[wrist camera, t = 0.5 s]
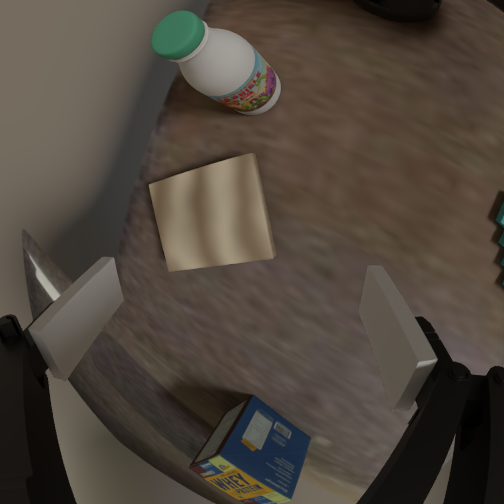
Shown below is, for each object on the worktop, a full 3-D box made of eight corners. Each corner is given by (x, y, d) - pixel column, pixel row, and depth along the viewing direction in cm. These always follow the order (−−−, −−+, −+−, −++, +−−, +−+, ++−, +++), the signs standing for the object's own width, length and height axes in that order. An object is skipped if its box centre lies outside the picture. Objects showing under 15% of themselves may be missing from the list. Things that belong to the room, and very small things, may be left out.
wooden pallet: (262, 155, 37) (251, 152, 33) (282, 250, 39) (273, 258, 35) (166, 183, 43) (148, 184, 39) (185, 263, 45) (168, 271, 41)
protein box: (278, 453, 50) (253, 509, 36) (223, 413, 52) (186, 467, 37) (313, 437, 46) (293, 501, 32) (253, 393, 47) (217, 455, 33)
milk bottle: (218, 94, 37) (121, 49, 19) (254, 57, 34) (177, -15, 15) (254, 127, 36) (165, 88, 18) (293, 88, 33) (234, 14, 15)
